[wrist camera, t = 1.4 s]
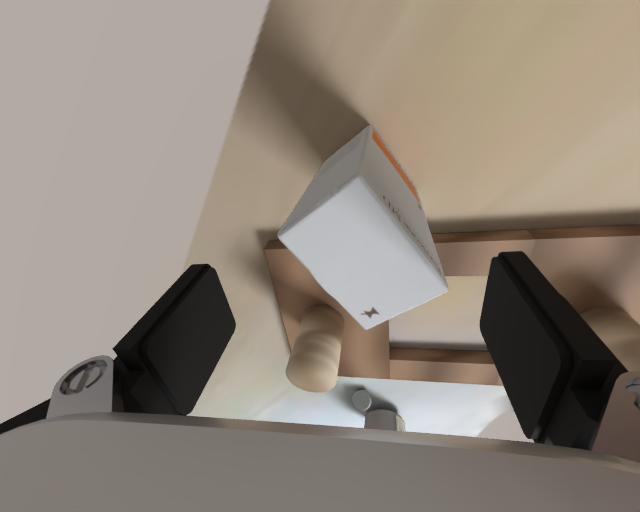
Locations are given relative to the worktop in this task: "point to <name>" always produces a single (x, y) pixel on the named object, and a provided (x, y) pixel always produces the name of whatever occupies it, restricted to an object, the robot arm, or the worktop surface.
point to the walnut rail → (462, 260)
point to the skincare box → (365, 234)
